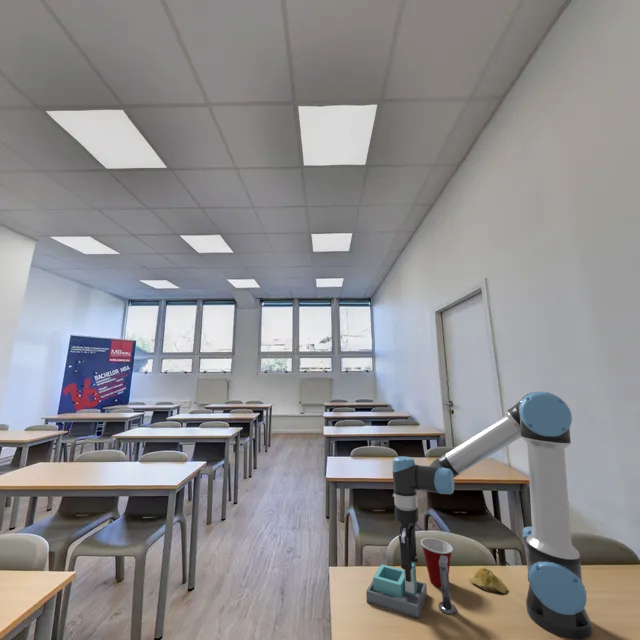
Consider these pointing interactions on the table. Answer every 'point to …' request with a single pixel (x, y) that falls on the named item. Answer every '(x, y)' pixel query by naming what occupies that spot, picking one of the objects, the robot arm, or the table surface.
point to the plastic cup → (435, 557)
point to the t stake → (445, 588)
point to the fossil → (488, 581)
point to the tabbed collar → (392, 581)
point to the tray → (399, 600)
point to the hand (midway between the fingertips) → (411, 588)
